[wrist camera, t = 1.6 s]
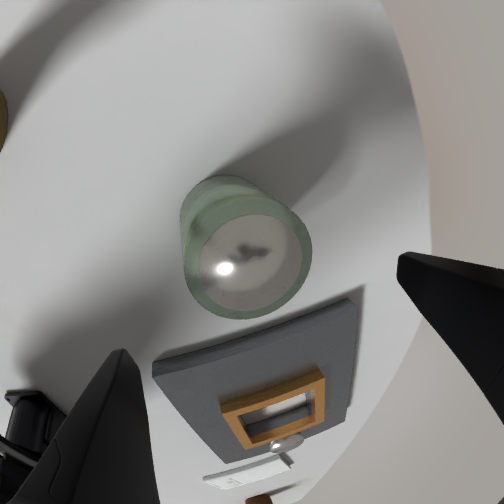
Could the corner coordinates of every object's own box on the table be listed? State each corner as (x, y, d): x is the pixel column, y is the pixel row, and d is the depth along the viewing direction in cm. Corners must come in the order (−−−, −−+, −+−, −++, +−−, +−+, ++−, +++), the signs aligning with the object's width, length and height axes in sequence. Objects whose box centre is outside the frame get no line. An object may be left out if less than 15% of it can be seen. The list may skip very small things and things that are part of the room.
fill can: (193, 268, 16) (206, 335, 11) (168, 189, 14) (165, 224, 9) (271, 244, 17) (317, 297, 12) (257, 165, 15) (305, 185, 9)
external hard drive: (288, 462, 36) (222, 483, 35) (277, 450, 32) (201, 474, 31) (291, 469, 34) (224, 490, 33) (280, 459, 30) (203, 482, 29)
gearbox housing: (223, 454, 27) (227, 470, 25) (152, 362, 18) (152, 387, 16) (339, 413, 30) (348, 426, 28) (348, 297, 21) (365, 315, 19)
